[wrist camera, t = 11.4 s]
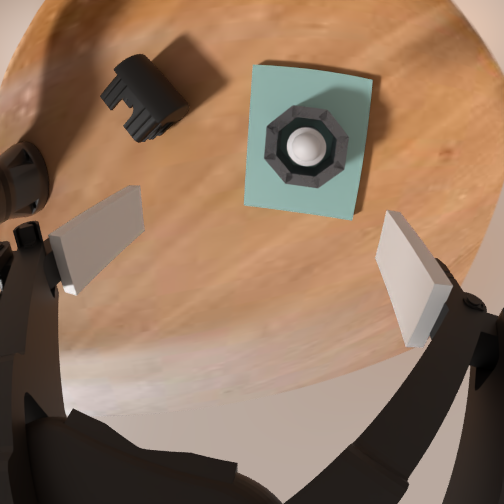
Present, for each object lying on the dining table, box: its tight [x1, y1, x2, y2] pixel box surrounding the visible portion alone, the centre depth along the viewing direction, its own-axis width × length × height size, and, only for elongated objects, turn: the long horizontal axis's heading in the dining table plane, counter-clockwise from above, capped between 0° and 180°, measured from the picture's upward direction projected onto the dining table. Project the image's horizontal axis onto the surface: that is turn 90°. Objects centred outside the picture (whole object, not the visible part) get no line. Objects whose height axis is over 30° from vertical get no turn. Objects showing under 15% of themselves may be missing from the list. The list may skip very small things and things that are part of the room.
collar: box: [264, 105, 349, 188], centre depth 30 cm, size 8×8×5 cm
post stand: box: [244, 65, 373, 220], centre depth 30 cm, size 14×18×8 cm
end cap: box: [100, 54, 189, 143], centre depth 31 cm, size 10×7×7 cm
